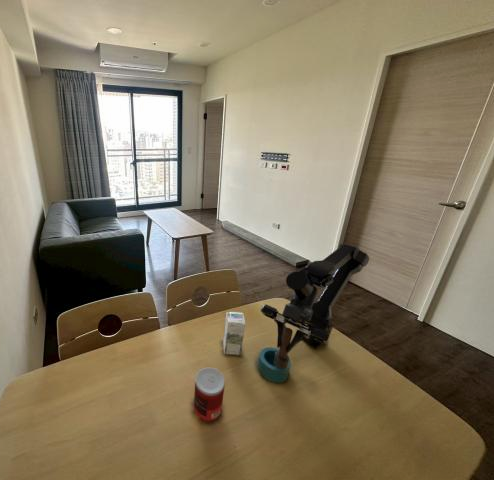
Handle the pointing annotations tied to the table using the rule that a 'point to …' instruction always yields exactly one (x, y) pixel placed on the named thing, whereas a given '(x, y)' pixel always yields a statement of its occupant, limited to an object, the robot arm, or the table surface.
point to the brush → (283, 350)
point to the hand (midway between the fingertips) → (282, 350)
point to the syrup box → (233, 333)
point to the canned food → (208, 394)
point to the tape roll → (271, 366)
